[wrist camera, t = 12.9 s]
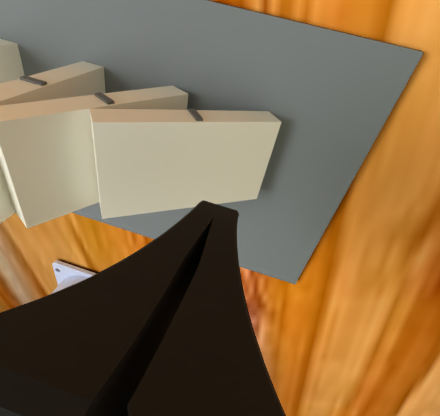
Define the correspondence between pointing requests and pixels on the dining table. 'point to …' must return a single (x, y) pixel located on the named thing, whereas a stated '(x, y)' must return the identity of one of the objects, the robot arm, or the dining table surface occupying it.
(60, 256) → the dining table surface
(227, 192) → the tile
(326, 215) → the mat
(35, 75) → the tile
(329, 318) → the dining table surface
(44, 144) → the tile
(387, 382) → the dining table surface
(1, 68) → the tile
